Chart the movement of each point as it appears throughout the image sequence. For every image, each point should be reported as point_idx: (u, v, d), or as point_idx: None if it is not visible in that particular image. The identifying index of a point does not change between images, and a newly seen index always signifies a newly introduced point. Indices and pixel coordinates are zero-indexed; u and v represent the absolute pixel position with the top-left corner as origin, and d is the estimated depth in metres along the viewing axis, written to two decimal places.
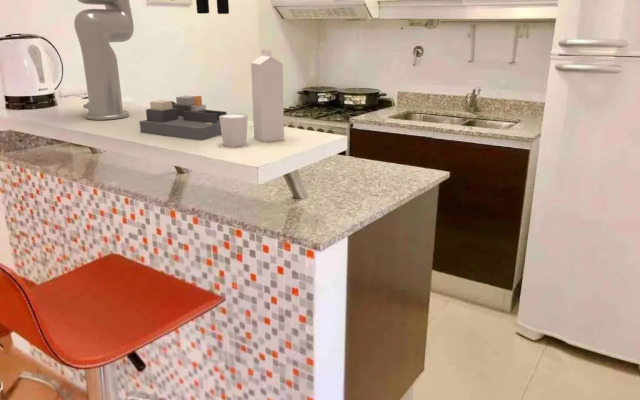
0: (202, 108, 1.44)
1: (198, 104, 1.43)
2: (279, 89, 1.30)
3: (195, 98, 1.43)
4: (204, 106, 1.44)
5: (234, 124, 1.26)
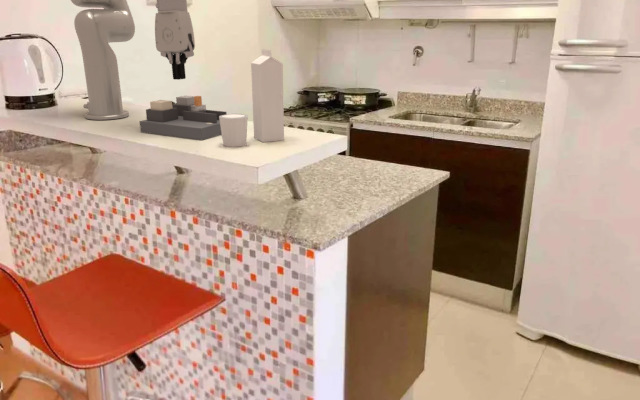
0: (202, 108, 1.44)
1: (198, 104, 1.43)
2: (279, 89, 1.30)
3: (195, 98, 1.43)
4: (204, 106, 1.44)
5: (234, 124, 1.26)
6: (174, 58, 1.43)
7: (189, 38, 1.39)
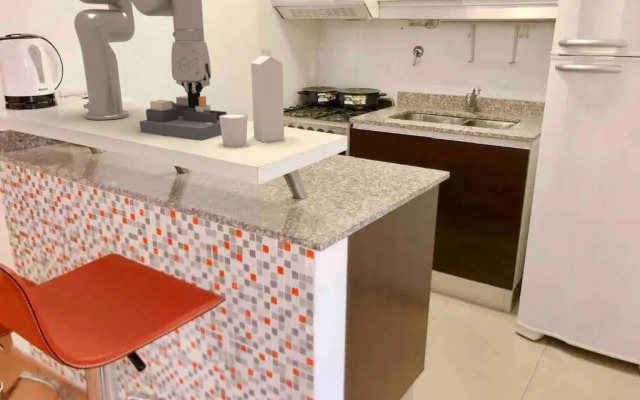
0: (207, 108, 1.43)
1: (203, 104, 1.42)
2: (279, 89, 1.30)
3: (200, 98, 1.42)
4: (209, 106, 1.44)
5: (234, 124, 1.26)
6: (190, 87, 1.43)
7: (206, 68, 1.40)
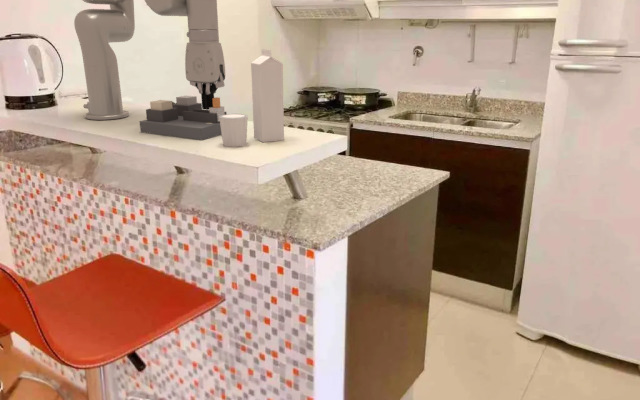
0: (221, 110, 1.41)
1: (217, 106, 1.40)
2: (279, 89, 1.30)
3: (214, 100, 1.40)
4: (223, 107, 1.42)
5: (234, 124, 1.26)
6: (204, 88, 1.41)
7: (220, 69, 1.38)
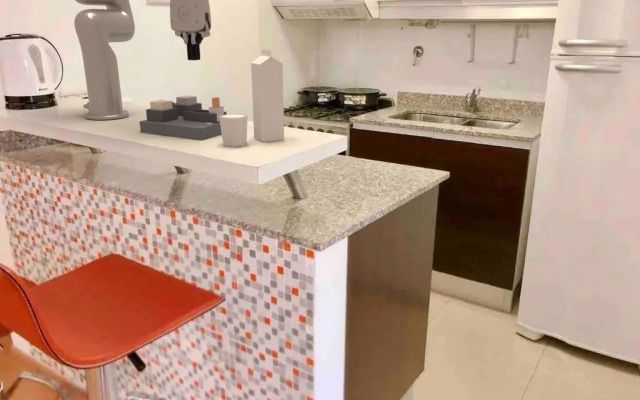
0: (220, 110, 1.41)
1: (216, 106, 1.40)
2: (279, 89, 1.30)
3: (213, 100, 1.40)
4: (222, 107, 1.42)
5: (234, 124, 1.26)
6: (189, 38, 1.38)
7: (206, 17, 1.35)
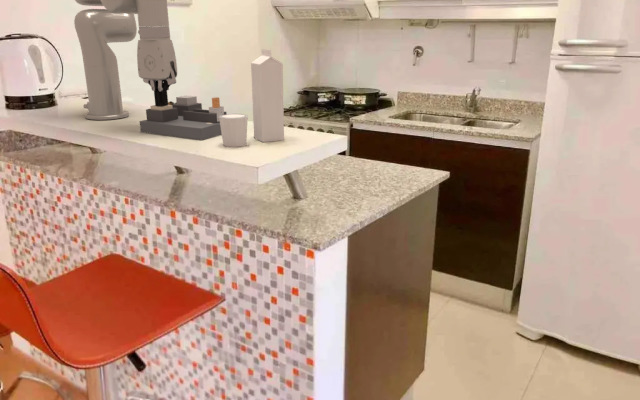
0: (220, 110, 1.41)
1: (216, 106, 1.40)
2: (279, 89, 1.30)
3: (213, 100, 1.40)
4: (222, 107, 1.42)
5: (234, 124, 1.26)
6: (156, 85, 1.42)
7: (171, 66, 1.38)
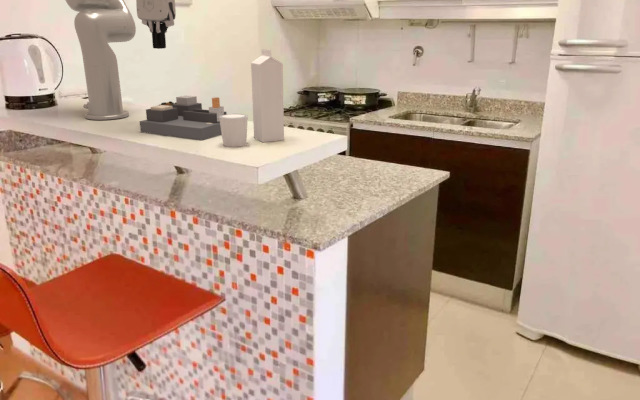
0: (220, 110, 1.41)
1: (216, 106, 1.40)
2: (279, 89, 1.30)
3: (213, 100, 1.40)
4: (222, 107, 1.42)
5: (234, 124, 1.26)
6: (155, 27, 1.42)
7: (170, 7, 1.38)
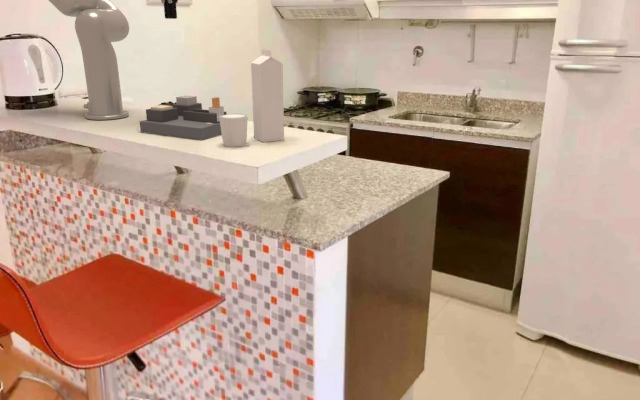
0: (220, 110, 1.41)
1: (216, 106, 1.40)
2: (279, 89, 1.30)
3: (213, 100, 1.40)
4: (222, 107, 1.42)
5: (234, 124, 1.26)
6: None
7: None
